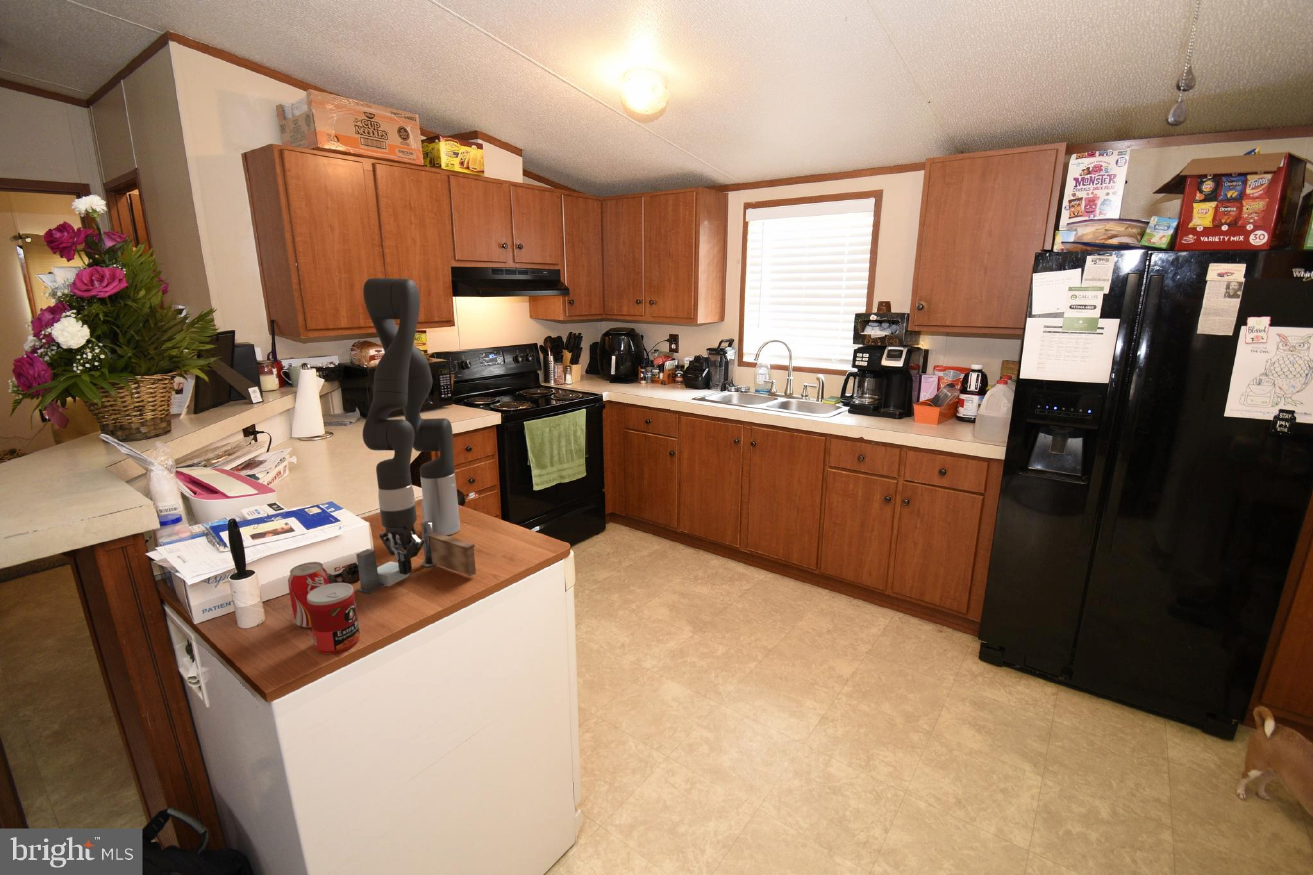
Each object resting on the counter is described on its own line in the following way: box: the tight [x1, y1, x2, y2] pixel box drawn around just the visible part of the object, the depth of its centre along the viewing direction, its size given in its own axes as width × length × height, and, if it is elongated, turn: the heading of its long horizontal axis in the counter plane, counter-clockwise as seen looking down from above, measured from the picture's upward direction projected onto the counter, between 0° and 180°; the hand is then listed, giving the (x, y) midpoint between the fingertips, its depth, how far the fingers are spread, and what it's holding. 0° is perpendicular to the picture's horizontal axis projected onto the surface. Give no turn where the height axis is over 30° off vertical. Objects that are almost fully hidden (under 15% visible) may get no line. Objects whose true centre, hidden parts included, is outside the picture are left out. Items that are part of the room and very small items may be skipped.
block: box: [377, 560, 410, 587], centre depth 136 cm, size 6×6×3 cm
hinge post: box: [420, 521, 438, 568], centre depth 142 cm, size 4×4×11 cm
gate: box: [428, 533, 477, 577], centre depth 138 cm, size 14×2×7 cm, turn 58°
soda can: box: [287, 561, 330, 628], centre depth 116 cm, size 7×7×12 cm
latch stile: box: [355, 548, 386, 595], centre depth 130 cm, size 4×4×9 cm
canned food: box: [307, 582, 361, 655], centre depth 109 cm, size 8×8×11 cm
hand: (405, 572), depth 135 cm, fingers closed
